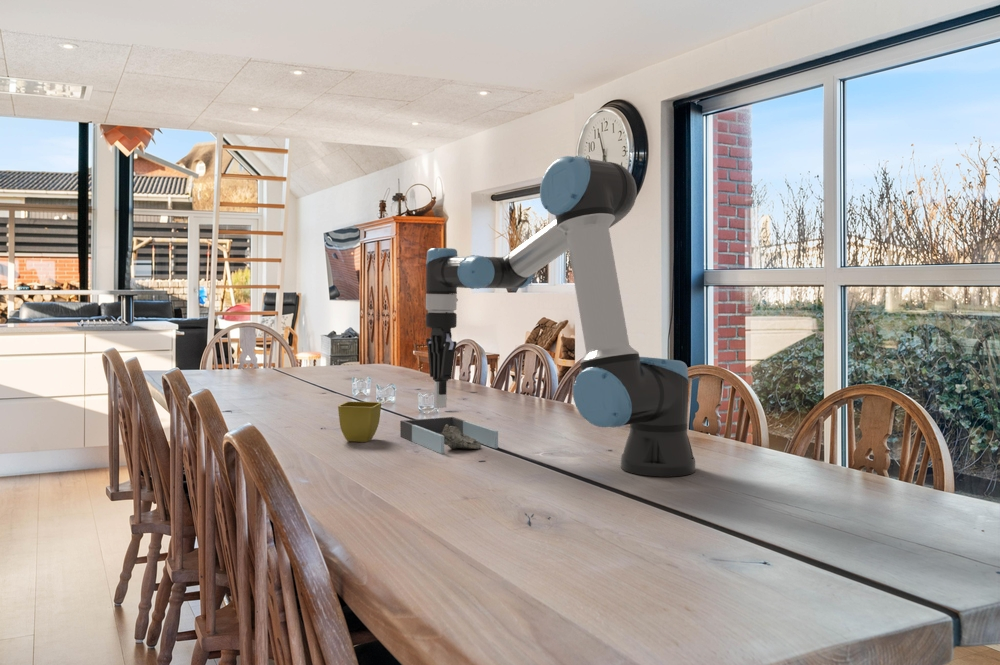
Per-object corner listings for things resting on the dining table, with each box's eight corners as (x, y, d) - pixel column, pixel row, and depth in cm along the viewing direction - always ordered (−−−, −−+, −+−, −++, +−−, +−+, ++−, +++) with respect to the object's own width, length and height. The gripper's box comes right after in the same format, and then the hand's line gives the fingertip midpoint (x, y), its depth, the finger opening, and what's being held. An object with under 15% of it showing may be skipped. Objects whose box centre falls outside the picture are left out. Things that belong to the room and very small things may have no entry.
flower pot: (382, 437, 205) (382, 401, 204) (373, 444, 196) (373, 406, 196) (347, 436, 206) (347, 401, 205) (337, 443, 197) (337, 406, 197)
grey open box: (465, 436, 207) (465, 420, 207) (411, 441, 200) (411, 425, 200) (453, 432, 214) (453, 416, 213) (400, 436, 207) (400, 420, 206)
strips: (497, 448, 192) (498, 431, 192) (440, 453, 185) (441, 436, 185) (465, 436, 207) (465, 420, 207) (411, 441, 200) (411, 425, 200)
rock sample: (479, 436, 185) (458, 408, 190) (452, 458, 185) (432, 430, 189) (493, 448, 194) (472, 422, 199) (467, 469, 194) (448, 442, 199)
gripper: (466, 312, 197) (465, 410, 199) (444, 310, 209) (442, 402, 210) (438, 312, 194) (437, 412, 195) (416, 310, 205) (415, 404, 206)
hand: (440, 407), depth 202 cm, fingers closed
